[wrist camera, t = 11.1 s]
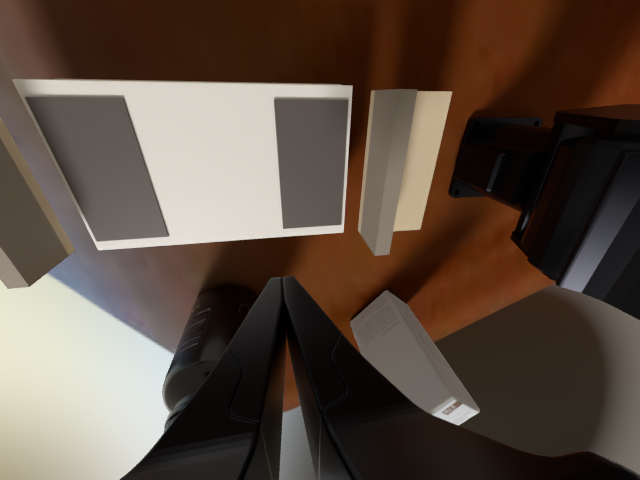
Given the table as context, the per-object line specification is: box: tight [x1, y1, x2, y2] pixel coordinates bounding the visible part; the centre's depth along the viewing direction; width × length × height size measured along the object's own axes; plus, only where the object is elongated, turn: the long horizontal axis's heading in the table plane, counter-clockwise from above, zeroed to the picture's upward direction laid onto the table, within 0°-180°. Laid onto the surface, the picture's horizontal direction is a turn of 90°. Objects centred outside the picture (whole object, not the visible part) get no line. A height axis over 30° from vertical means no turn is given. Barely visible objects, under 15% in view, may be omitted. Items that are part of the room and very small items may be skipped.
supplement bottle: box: [162, 284, 259, 433], centre depth 20 cm, size 7×7×12 cm
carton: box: [12, 79, 353, 250], centre depth 15 cm, size 14×8×6 cm, turn 89°
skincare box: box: [350, 290, 480, 425], centre depth 24 cm, size 6×4×12 cm
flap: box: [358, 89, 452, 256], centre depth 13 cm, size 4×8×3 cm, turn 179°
